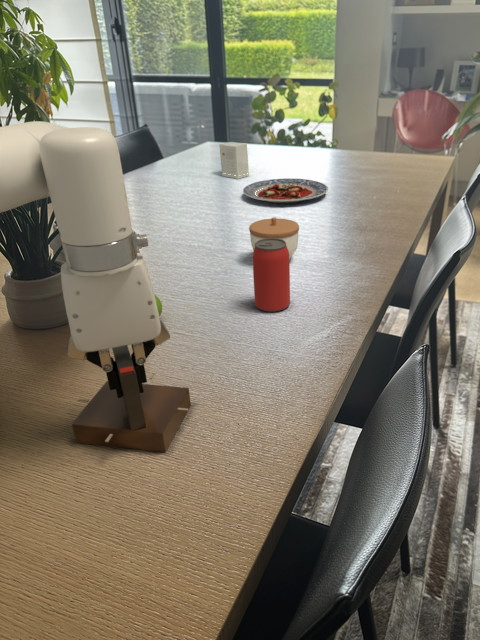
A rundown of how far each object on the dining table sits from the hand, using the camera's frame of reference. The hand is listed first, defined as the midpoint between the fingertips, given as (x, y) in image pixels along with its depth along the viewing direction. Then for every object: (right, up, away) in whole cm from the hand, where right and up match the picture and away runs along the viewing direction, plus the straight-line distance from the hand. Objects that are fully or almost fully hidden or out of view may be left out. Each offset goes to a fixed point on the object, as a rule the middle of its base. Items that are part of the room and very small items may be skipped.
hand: (129, 389), depth 70 cm
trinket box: (+18, +27, +52) cm, 62 cm away
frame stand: (0, -5, +3) cm, 6 cm away
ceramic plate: (+21, +56, +97) cm, 114 cm away
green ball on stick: (-4, +11, +29) cm, 31 cm away
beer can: (+18, +15, +33) cm, 40 cm away
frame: (0, -2, +1) cm, 2 cm away
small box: (+4, +70, +121) cm, 140 cm away
